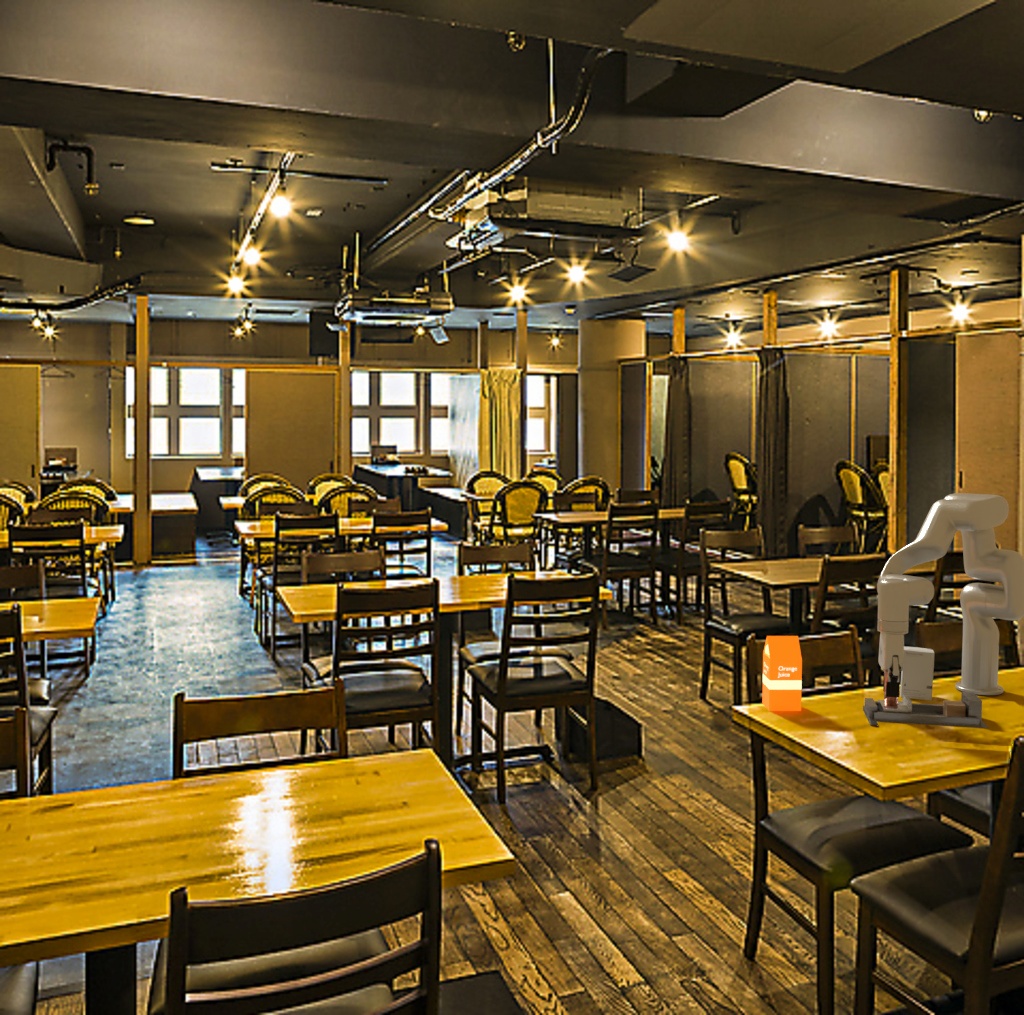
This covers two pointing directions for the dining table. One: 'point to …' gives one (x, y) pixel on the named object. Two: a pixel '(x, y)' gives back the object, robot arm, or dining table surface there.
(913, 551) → the robot arm
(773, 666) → the orange juice
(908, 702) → the ram
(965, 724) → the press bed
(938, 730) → the dining table surface
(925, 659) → the skincare box
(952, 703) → the brown wooden cube
